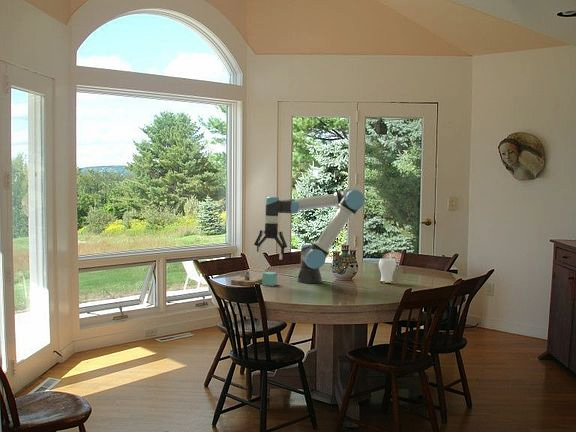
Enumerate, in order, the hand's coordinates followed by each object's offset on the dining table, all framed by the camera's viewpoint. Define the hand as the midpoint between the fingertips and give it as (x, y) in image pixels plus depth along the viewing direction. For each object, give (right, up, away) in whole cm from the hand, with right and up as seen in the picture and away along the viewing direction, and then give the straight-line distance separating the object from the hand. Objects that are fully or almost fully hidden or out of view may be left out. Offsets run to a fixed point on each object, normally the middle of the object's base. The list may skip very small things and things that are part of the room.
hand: (270, 258), depth 370 cm
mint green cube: (0, -16, +1) cm, 16 cm away
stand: (-14, -15, +2) cm, 21 cm away
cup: (+73, -17, +22) cm, 78 cm away
